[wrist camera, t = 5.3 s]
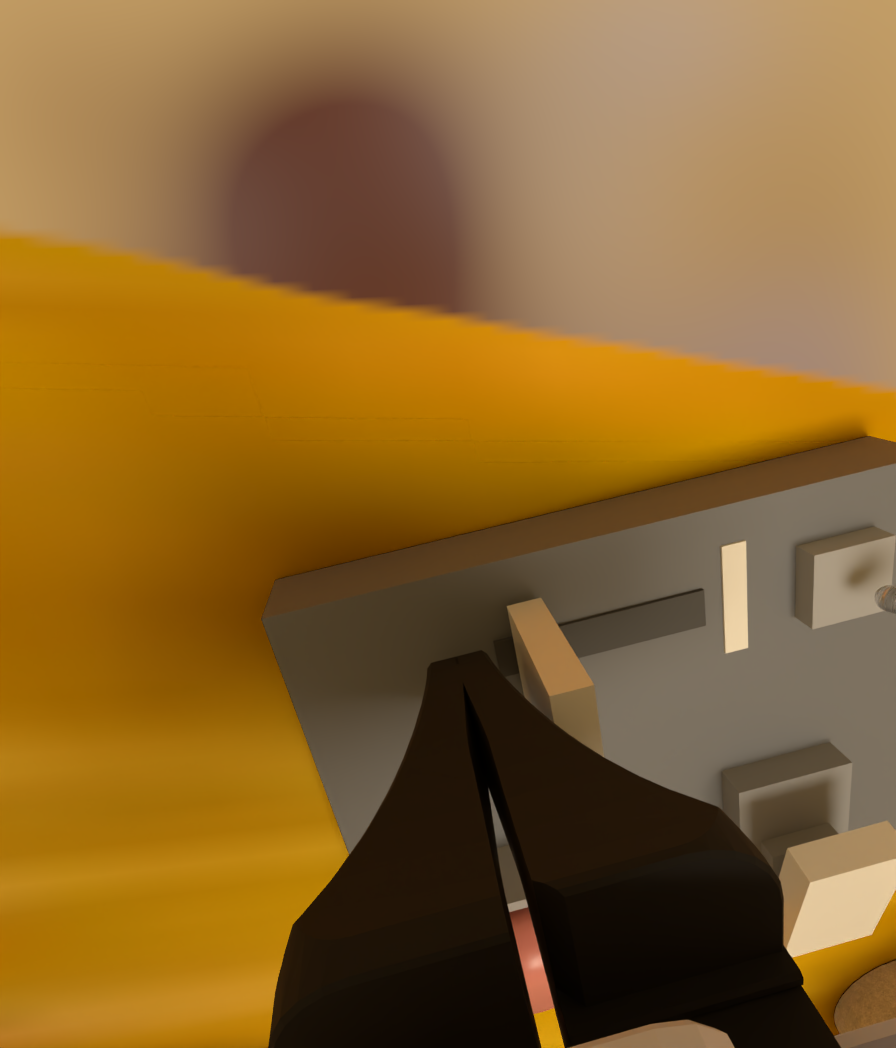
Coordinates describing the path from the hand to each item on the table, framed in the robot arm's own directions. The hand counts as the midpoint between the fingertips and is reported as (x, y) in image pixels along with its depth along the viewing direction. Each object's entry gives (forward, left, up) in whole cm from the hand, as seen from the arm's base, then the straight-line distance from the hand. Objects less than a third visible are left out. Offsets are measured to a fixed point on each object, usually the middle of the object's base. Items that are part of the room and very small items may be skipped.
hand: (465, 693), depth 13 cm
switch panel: (-5, -4, -3) cm, 7 cm away
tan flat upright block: (0, -2, -1) cm, 2 cm away
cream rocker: (-8, -8, +1) cm, 11 cm away
